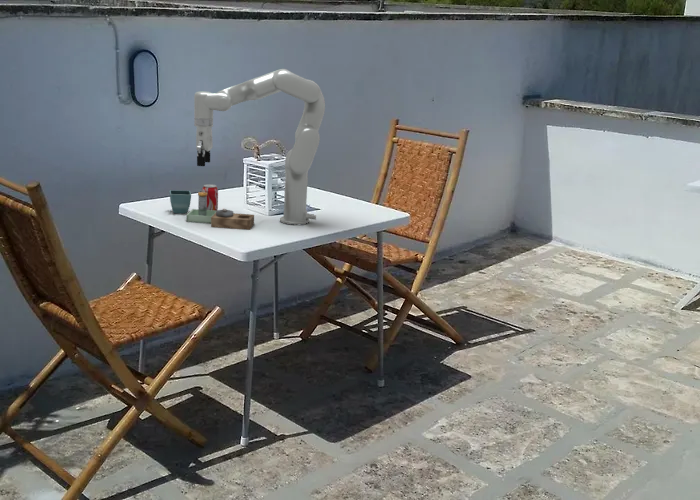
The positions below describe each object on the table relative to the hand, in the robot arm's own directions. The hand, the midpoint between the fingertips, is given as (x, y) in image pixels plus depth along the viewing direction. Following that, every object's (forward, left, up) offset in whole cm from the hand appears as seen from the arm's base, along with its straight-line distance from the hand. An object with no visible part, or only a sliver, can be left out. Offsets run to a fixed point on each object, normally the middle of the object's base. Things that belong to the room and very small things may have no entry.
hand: (203, 164), depth 331 cm
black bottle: (0, 0, -23) cm, 23 cm away
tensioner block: (-14, +6, -24) cm, 28 cm away
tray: (0, 0, -24) cm, 24 cm away
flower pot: (+12, -10, -24) cm, 29 cm away
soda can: (0, -14, -24) cm, 28 cm away
